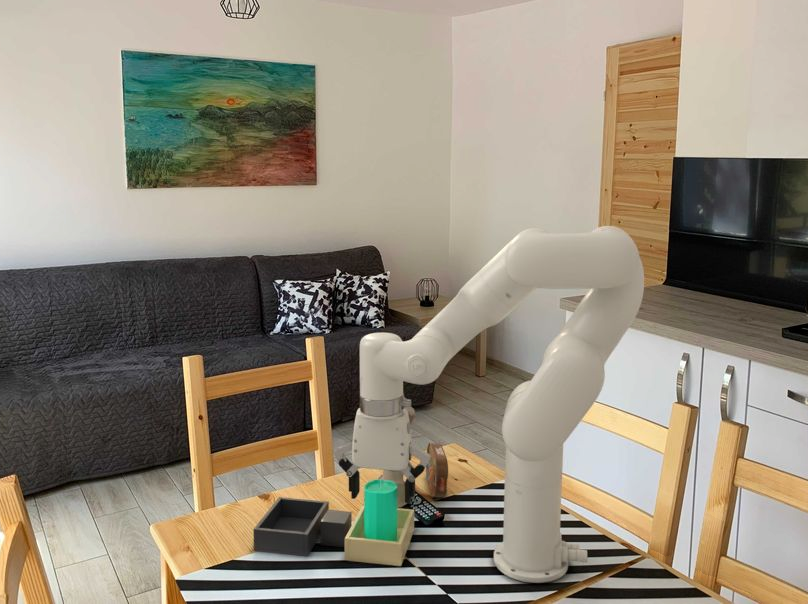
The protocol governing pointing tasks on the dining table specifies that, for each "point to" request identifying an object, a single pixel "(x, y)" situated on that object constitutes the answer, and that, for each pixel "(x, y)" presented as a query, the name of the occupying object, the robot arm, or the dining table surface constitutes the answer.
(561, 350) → the robot arm
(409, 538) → the cream bin
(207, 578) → the dining table surface
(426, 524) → the dining table surface
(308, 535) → the charcoal bin
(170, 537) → the dining table surface
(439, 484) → the tin
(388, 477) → the figurine
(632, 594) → the dining table surface
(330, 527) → the block
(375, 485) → the candle
